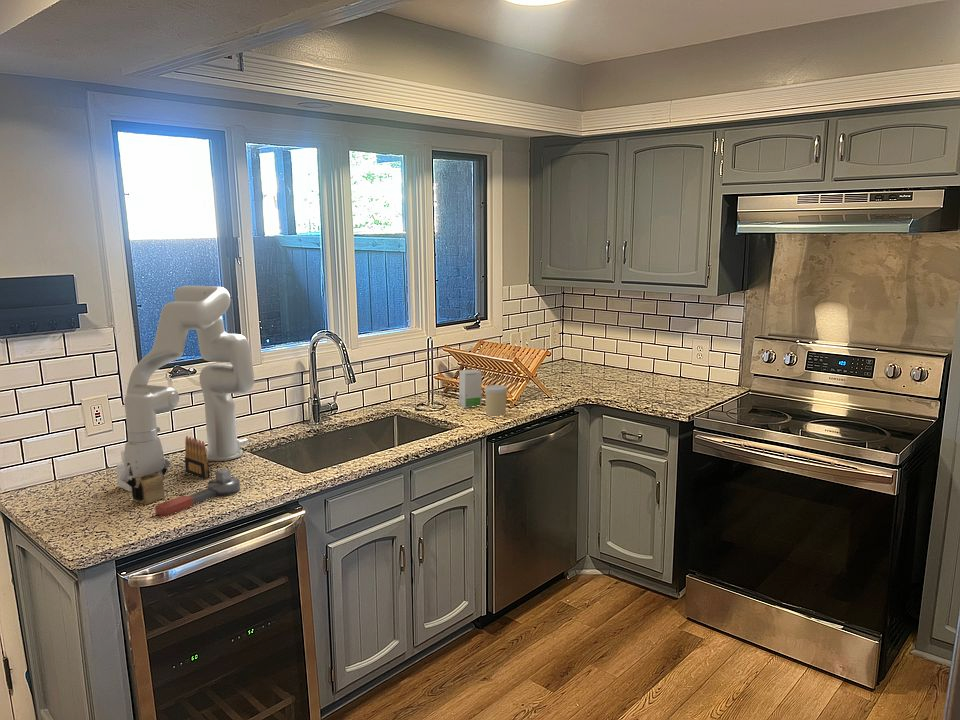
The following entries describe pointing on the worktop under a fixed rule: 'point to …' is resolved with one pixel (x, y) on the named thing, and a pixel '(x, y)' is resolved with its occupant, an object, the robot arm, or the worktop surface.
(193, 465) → the ammunition clip
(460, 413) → the worktop surface
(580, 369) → the worktop surface
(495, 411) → the coffee cup
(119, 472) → the medicine bottle
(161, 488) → the wooden block
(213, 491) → the ratchet
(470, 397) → the skincare box
